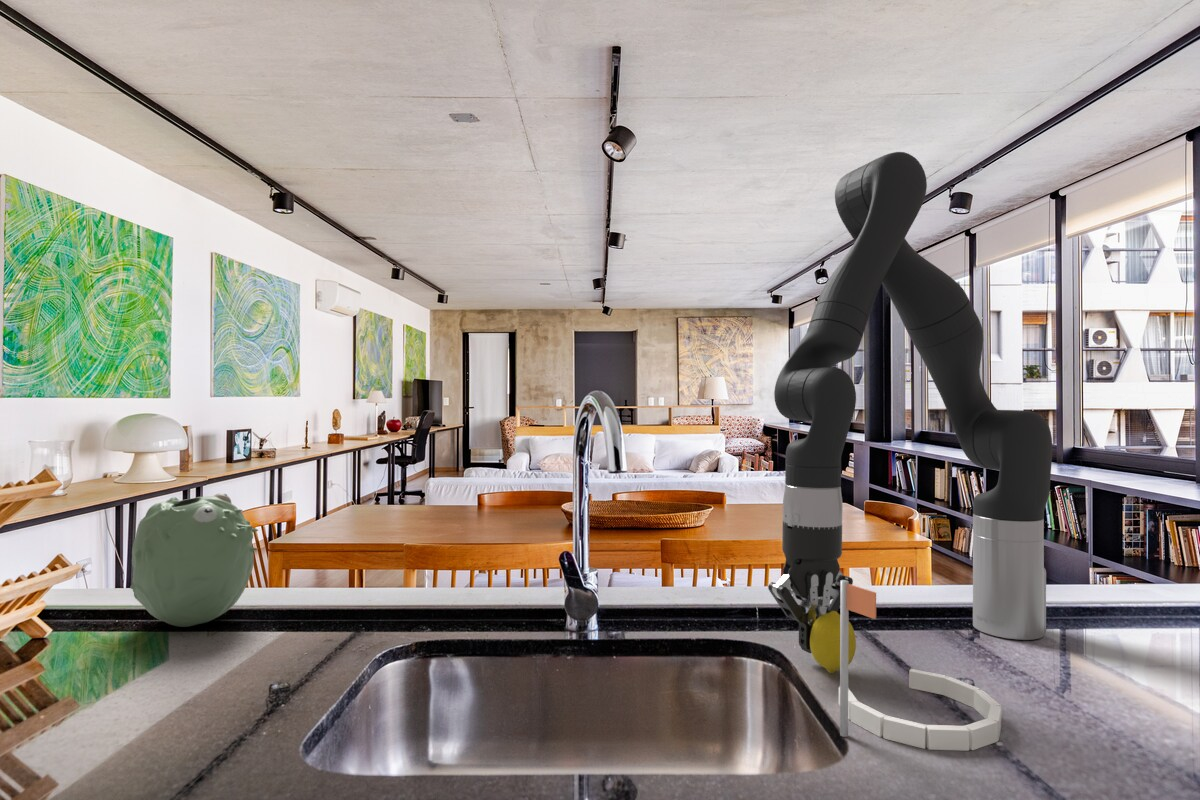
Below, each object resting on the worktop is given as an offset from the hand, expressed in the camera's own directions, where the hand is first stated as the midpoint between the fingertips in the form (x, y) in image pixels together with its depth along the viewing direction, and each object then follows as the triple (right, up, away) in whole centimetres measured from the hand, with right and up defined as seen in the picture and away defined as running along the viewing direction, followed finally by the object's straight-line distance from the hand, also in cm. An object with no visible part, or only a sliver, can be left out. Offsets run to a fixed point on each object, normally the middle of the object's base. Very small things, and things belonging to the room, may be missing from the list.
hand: (810, 650), depth 92 cm
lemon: (+2, -2, -3) cm, 4 cm away
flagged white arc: (+6, -2, -16) cm, 18 cm away
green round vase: (-91, -2, +16) cm, 92 cm away
